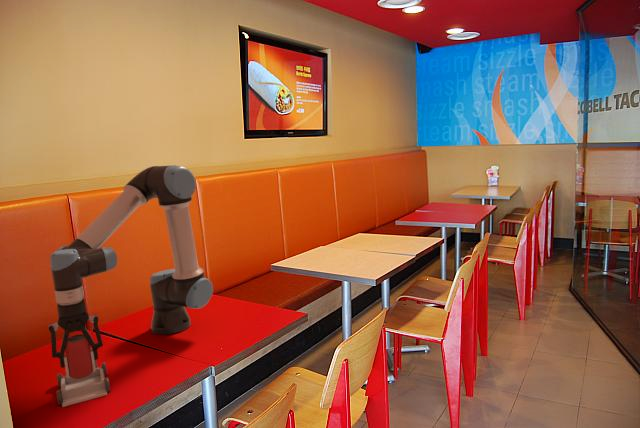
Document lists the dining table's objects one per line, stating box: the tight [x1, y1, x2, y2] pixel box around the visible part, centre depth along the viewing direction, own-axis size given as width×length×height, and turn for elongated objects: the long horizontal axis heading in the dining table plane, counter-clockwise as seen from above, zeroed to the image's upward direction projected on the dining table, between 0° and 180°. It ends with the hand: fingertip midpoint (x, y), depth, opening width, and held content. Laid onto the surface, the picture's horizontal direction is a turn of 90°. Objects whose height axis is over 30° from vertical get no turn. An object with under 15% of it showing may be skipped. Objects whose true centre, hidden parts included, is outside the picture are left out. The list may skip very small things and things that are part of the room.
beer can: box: [65, 333, 93, 379], centre depth 151 cm, size 7×7×12 cm
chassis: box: [56, 360, 111, 408], centre depth 152 cm, size 17×14×6 cm
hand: (81, 373), depth 152 cm, fingers closed on beer can, 7 cm apart
